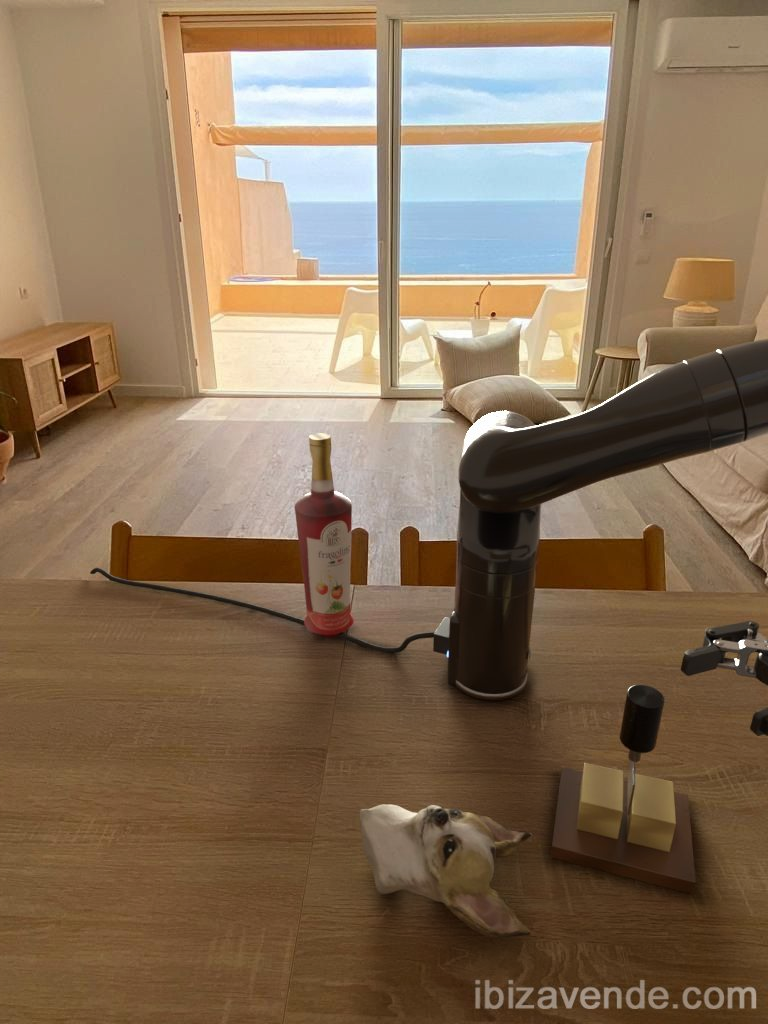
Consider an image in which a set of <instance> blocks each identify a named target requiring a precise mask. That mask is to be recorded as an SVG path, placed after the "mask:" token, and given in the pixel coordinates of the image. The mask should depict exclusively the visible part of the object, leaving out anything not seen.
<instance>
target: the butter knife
mask: <svg viewBox="0 0 768 1024" xmlns="http://www.w3.org/2000/svg"><path fill="white" fill-rule="evenodd" d="M664 706H665V697H664V695H663V693H662V692H661V691H660V690H658V689H657V688H655V687H653V686H650V685H646V684H635V685H632V686H630V687H629V688H628V689H627V691H626V697H625V703H624V707H623V714H622V719H621V725H620V732H619V740H620V742H621V744H622V745H623V746H624V748H626V749H628V756H627V757H628V759H627V781H628V789H627V814H628V815H630V810H631V805H632V800H633V795H634V789H635V774H636V763H639V762H640V761H641V757H642V754H647V753H650V752H652V751H654V749H655V748H656V745H657V739H658V737H659V736H658V735H659V730H660V727H661V721H662V715H663V710H664Z"/></svg>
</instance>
